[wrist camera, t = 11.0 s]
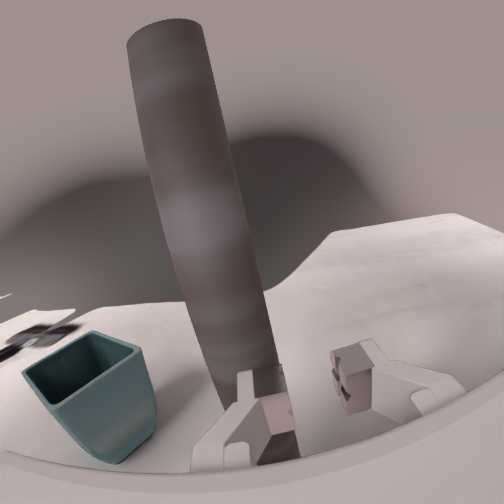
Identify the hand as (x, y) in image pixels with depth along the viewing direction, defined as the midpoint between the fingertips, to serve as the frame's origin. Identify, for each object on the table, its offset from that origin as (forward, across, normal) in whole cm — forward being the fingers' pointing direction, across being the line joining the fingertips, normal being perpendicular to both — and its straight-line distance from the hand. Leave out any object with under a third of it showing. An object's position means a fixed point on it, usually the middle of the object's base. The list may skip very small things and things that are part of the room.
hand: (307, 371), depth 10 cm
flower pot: (+9, +16, +12) cm, 22 cm away
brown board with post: (-5, +4, +12) cm, 13 cm away
